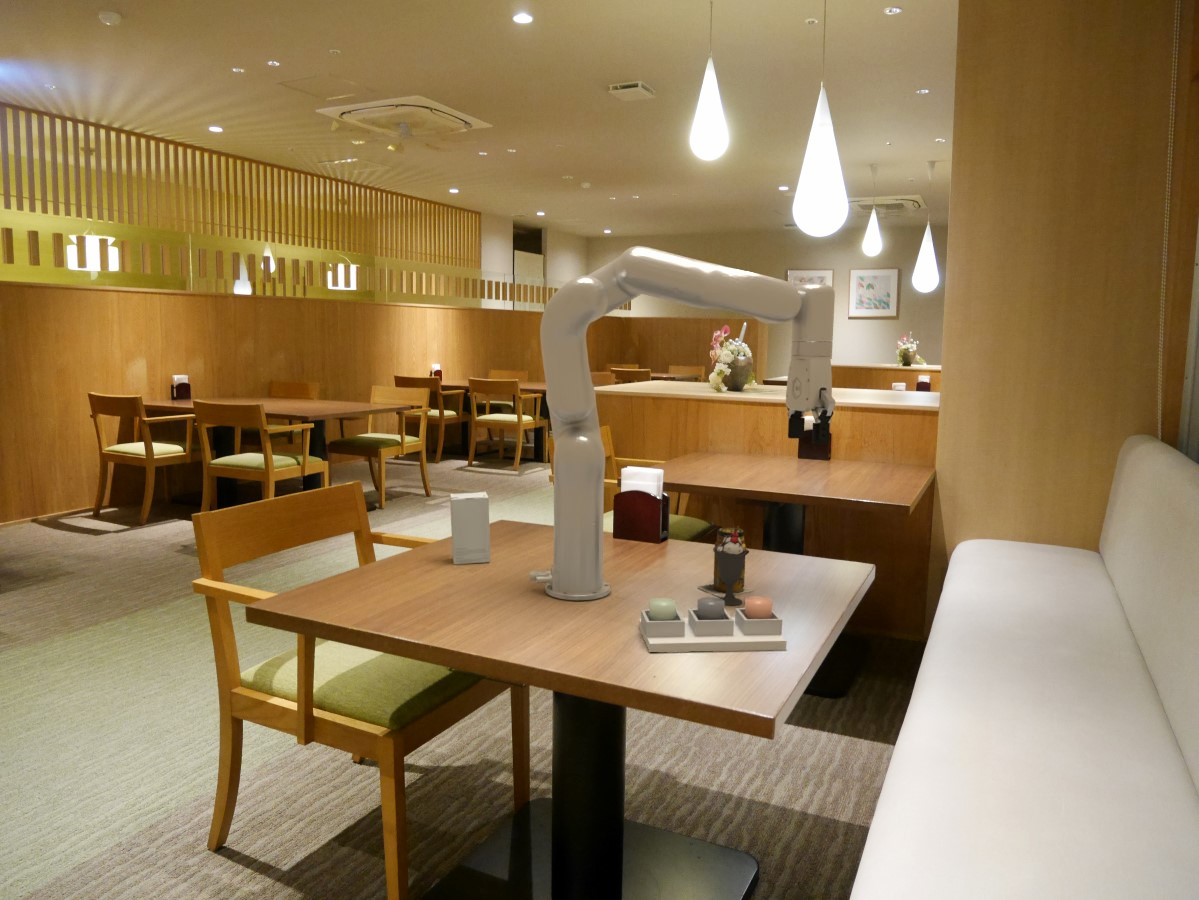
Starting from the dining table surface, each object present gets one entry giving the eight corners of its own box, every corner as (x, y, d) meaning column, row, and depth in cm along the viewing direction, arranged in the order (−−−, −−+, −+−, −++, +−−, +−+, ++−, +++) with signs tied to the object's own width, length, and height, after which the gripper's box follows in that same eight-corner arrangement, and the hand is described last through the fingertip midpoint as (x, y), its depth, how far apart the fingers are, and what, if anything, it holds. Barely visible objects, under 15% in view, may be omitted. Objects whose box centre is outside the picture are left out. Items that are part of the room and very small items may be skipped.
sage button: (651, 624, 138) (651, 606, 138) (647, 615, 143) (647, 598, 142) (678, 623, 139) (678, 605, 138) (673, 615, 143) (673, 597, 143)
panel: (648, 652, 135) (649, 628, 134) (638, 627, 147) (638, 604, 146) (786, 649, 137) (787, 625, 136) (765, 624, 149) (766, 602, 148)
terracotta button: (748, 622, 140) (749, 604, 139) (741, 613, 144) (742, 596, 144) (775, 622, 140) (775, 604, 140) (767, 613, 144) (768, 596, 144)
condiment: (753, 591, 169) (755, 531, 167) (720, 598, 164) (722, 536, 162) (728, 582, 175) (730, 524, 173) (696, 588, 170) (698, 529, 168)
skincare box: (488, 556, 192) (488, 491, 190) (490, 563, 186) (490, 496, 184) (450, 558, 190) (449, 492, 188) (451, 565, 184) (450, 497, 182)
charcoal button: (700, 623, 139) (700, 605, 139) (694, 614, 143) (695, 597, 143) (726, 623, 139) (727, 605, 139) (720, 614, 144) (721, 596, 143)
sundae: (739, 609, 157) (742, 529, 155) (705, 603, 160) (708, 524, 158) (753, 600, 162) (756, 522, 160) (720, 594, 166) (722, 518, 164)
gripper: (773, 350, 169) (770, 436, 172) (815, 352, 153) (811, 447, 155) (807, 350, 171) (804, 435, 173) (853, 352, 155) (849, 446, 157)
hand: (807, 441), depth 164 cm, fingers open, 9 cm apart
